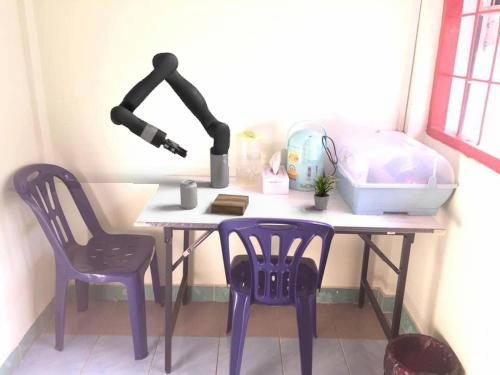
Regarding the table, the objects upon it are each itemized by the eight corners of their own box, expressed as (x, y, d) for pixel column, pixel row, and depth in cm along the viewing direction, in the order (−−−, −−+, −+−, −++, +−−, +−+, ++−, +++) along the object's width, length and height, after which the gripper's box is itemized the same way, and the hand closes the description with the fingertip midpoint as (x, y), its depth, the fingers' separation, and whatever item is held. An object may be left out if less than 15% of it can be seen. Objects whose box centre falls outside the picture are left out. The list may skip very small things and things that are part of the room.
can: (194, 210, 193) (193, 184, 189) (178, 208, 194) (177, 183, 190) (199, 204, 200) (199, 179, 196) (184, 203, 201) (183, 178, 197)
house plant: (330, 217, 187) (333, 181, 182) (300, 210, 193) (302, 175, 188) (340, 206, 199) (343, 172, 194) (312, 201, 205) (314, 168, 200)
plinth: (219, 201, 203) (219, 193, 202) (248, 204, 201) (248, 195, 199) (211, 212, 190) (211, 204, 189) (242, 215, 188) (242, 206, 186)
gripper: (156, 129, 181) (190, 149, 184) (159, 126, 194) (190, 145, 198) (147, 145, 182) (181, 164, 185) (150, 140, 195) (182, 159, 199)
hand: (186, 154), depth 192 cm, fingers open, 8 cm apart
